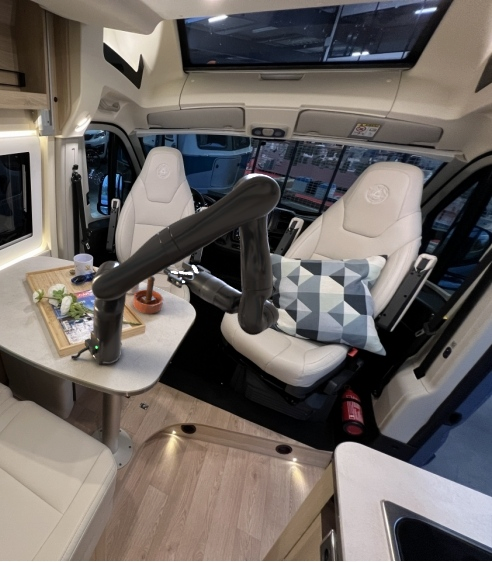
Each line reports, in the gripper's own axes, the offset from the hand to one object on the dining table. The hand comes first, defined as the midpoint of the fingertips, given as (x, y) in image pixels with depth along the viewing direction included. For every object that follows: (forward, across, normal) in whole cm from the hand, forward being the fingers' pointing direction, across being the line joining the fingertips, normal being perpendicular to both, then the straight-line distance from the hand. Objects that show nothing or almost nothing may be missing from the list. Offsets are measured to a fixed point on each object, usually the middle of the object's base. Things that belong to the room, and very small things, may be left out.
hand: (173, 266), depth 99 cm
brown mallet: (+14, -3, +25) cm, 29 cm away
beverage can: (+27, -4, +26) cm, 38 cm away
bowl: (+14, -3, +26) cm, 30 cm away
